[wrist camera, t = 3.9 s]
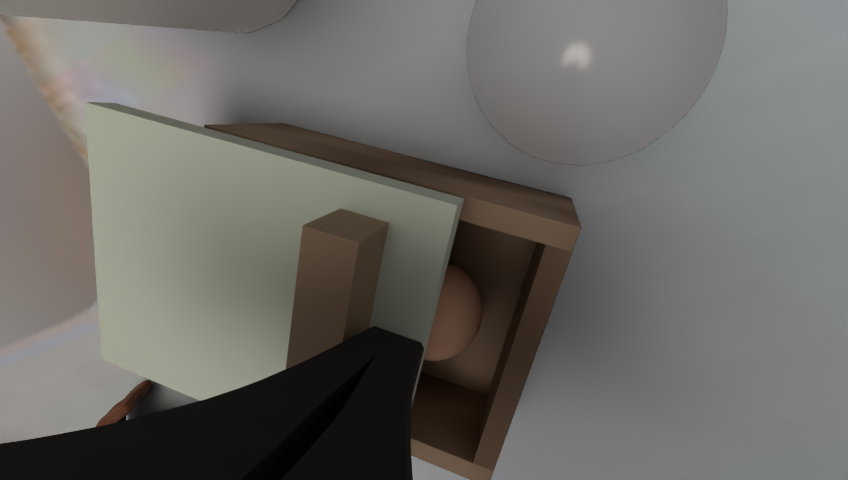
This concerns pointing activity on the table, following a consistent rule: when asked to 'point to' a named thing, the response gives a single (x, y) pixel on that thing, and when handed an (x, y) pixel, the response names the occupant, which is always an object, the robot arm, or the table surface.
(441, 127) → the table surface
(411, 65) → the table surface
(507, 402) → the box
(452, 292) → the ball
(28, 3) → the foam cup
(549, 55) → the grey piece
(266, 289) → the lid
